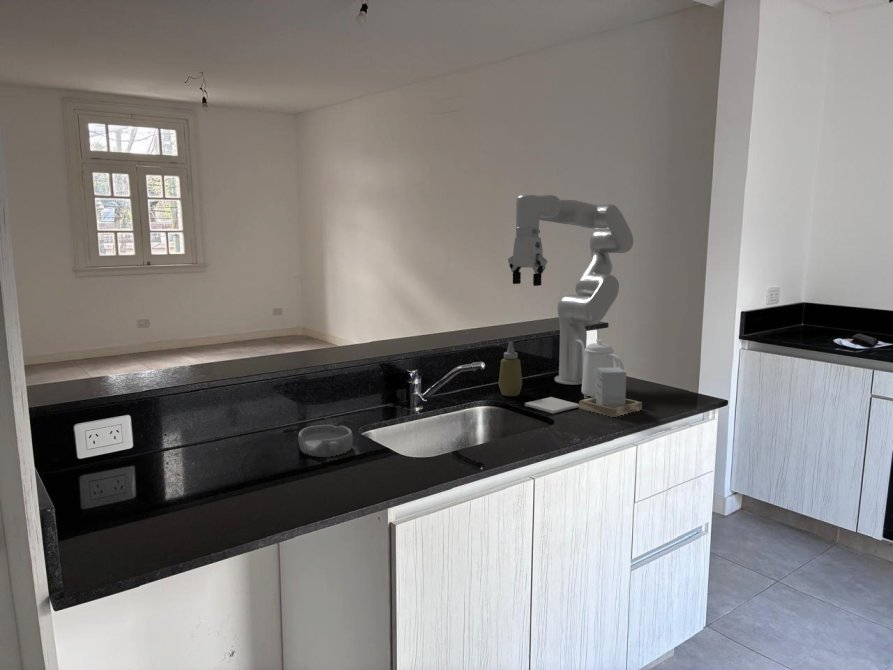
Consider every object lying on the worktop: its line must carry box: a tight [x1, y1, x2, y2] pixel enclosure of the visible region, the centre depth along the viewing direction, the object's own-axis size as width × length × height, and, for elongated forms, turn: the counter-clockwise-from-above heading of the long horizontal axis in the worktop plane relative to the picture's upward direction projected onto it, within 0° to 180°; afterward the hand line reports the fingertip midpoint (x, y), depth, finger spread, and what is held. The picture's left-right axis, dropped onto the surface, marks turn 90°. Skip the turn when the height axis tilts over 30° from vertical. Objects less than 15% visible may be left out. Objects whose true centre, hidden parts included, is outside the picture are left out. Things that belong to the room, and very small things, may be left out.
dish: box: [297, 424, 354, 458], centre depth 170 cm, size 14×14×5 cm
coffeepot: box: [576, 338, 625, 398], centre depth 223 cm, size 11×25×19 cm, turn 25°
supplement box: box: [596, 366, 627, 408], centre depth 205 cm, size 7×7×13 cm
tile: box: [524, 396, 579, 414], centre depth 210 cm, size 12×12×1 cm
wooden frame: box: [578, 397, 643, 418], centre depth 205 cm, size 13×13×2 cm
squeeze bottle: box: [498, 341, 523, 397], centre depth 223 cm, size 8×8×18 cm
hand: (526, 284), depth 223 cm, fingers open, 9 cm apart
